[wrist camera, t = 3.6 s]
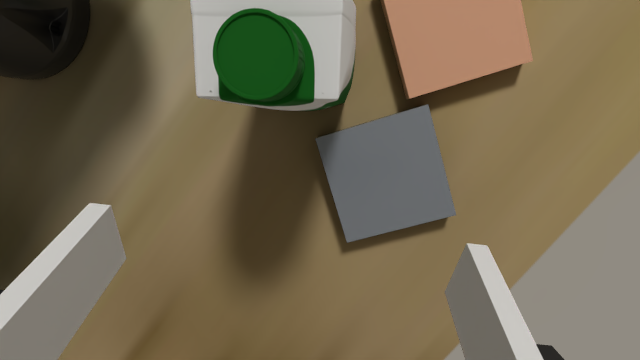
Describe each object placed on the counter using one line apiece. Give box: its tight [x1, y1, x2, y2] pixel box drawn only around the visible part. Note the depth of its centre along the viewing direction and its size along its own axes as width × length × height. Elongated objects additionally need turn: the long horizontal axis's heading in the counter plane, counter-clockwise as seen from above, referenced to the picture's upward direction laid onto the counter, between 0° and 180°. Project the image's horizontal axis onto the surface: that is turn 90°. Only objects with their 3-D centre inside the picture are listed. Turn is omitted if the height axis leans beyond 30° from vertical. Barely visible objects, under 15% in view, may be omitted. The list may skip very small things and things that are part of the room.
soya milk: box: [190, 0, 356, 111], centre depth 25 cm, size 9×9×20 cm
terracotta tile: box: [381, 0, 533, 100], centre depth 32 cm, size 11×11×2 cm
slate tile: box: [316, 104, 456, 243], centre depth 35 cm, size 11×11×2 cm
